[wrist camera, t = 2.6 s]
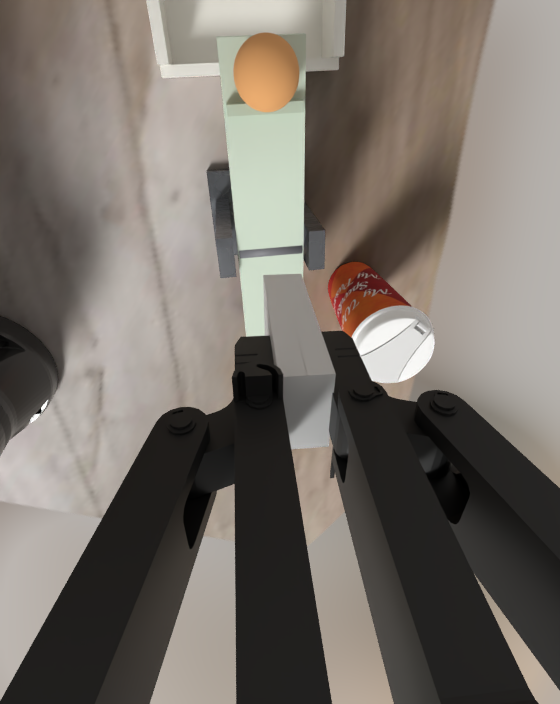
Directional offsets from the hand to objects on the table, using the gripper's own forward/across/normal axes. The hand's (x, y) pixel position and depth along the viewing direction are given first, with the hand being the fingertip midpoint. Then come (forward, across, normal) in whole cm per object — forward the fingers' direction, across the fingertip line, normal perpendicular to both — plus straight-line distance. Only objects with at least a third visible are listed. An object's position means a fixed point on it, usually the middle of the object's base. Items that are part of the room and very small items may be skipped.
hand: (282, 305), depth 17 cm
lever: (+22, 0, 0) cm, 22 cm away
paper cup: (+27, +11, -12) cm, 31 cm away
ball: (+12, 0, +8) cm, 14 cm away
